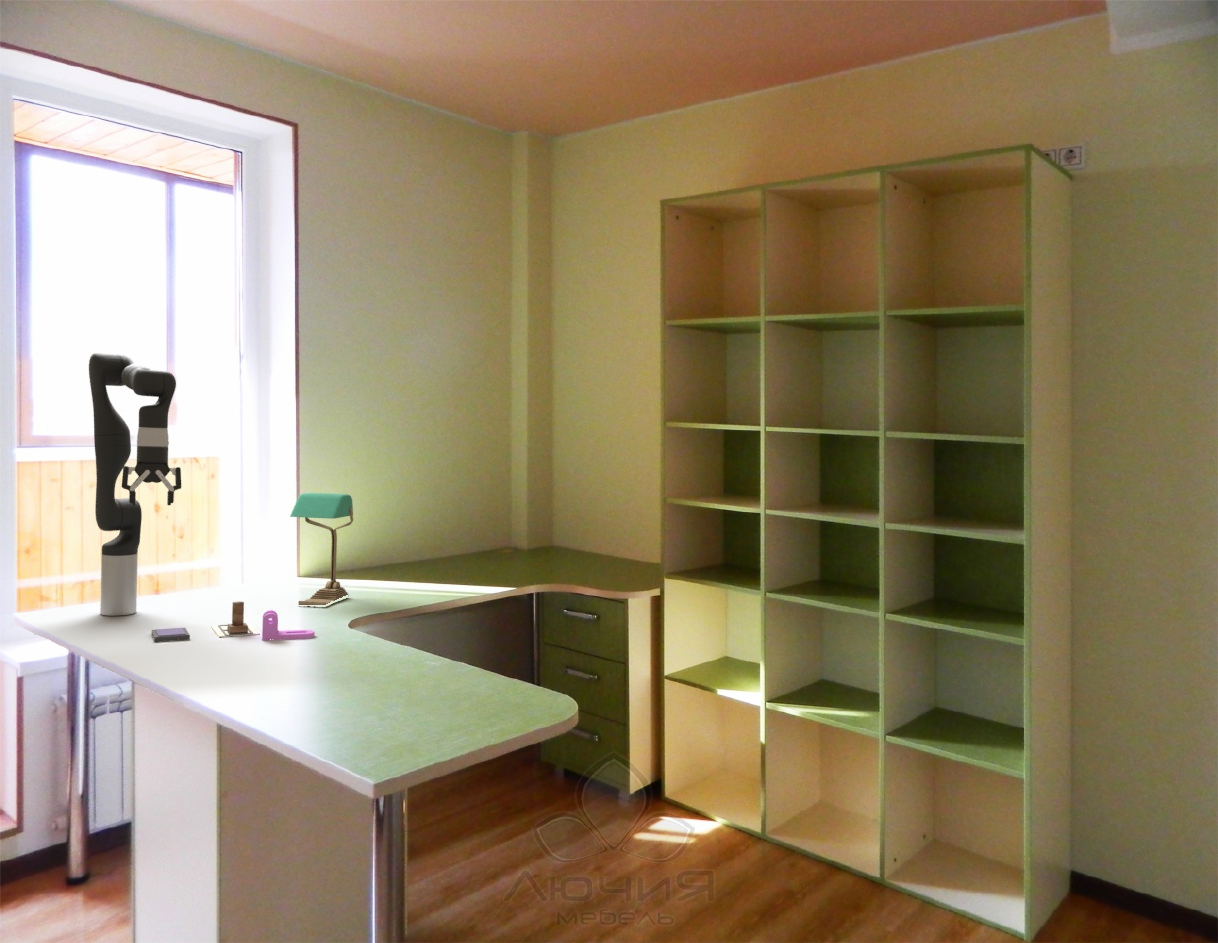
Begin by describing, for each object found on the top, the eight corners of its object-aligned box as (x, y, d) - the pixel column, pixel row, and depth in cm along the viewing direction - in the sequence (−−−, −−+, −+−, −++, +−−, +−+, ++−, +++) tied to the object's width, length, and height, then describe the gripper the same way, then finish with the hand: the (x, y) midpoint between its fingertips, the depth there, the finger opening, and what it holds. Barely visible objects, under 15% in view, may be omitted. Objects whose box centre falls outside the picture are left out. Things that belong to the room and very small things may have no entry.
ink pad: (151, 634, 239) (151, 628, 239) (185, 632, 243) (185, 626, 243) (154, 641, 230) (155, 636, 230) (189, 639, 234) (189, 634, 234)
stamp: (227, 631, 244) (228, 601, 244) (245, 630, 247) (246, 600, 246) (229, 634, 240) (230, 604, 240) (247, 633, 243) (248, 603, 242)
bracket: (262, 640, 237) (262, 614, 236) (262, 636, 242) (262, 610, 242) (314, 638, 241) (315, 612, 241) (313, 634, 246) (314, 608, 246)
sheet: (211, 627, 250) (211, 625, 250) (250, 624, 255) (250, 623, 255) (219, 637, 238) (219, 635, 238) (259, 634, 243) (259, 632, 243)
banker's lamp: (359, 598, 303) (362, 493, 303) (334, 609, 283) (337, 496, 282) (313, 596, 305) (316, 491, 304) (285, 606, 284) (288, 494, 283)
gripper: (180, 445, 252) (179, 504, 253) (121, 443, 245) (120, 504, 245) (183, 446, 246) (182, 506, 246) (123, 444, 238) (122, 506, 239)
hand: (151, 505), depth 246 cm, fingers open, 8 cm apart
